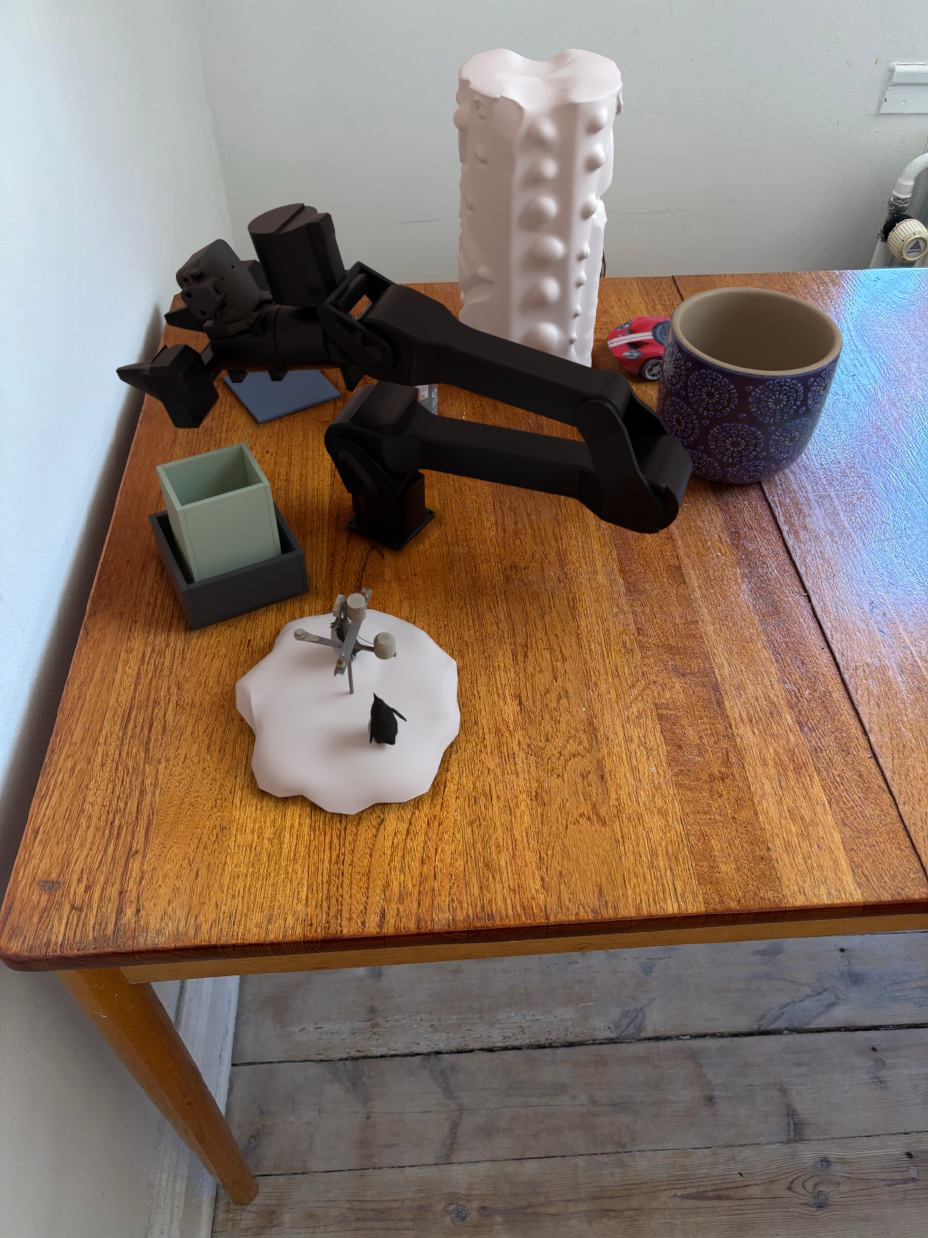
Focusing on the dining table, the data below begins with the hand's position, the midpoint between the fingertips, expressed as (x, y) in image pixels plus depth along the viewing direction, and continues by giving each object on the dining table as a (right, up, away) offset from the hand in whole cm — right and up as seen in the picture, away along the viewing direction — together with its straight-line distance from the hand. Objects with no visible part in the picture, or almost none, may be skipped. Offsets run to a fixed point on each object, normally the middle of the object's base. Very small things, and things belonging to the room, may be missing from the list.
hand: (143, 345), depth 93 cm
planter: (+57, -8, +15) cm, 60 cm away
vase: (+36, +5, +27) cm, 45 cm away
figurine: (+20, -33, -10) cm, 40 cm away
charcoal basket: (+8, -21, +1) cm, 22 cm away
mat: (+9, +1, +22) cm, 24 cm away
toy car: (+57, +5, +27) cm, 64 cm away
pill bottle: (+24, -4, +18) cm, 30 cm away
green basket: (+8, -20, +1) cm, 22 cm away
